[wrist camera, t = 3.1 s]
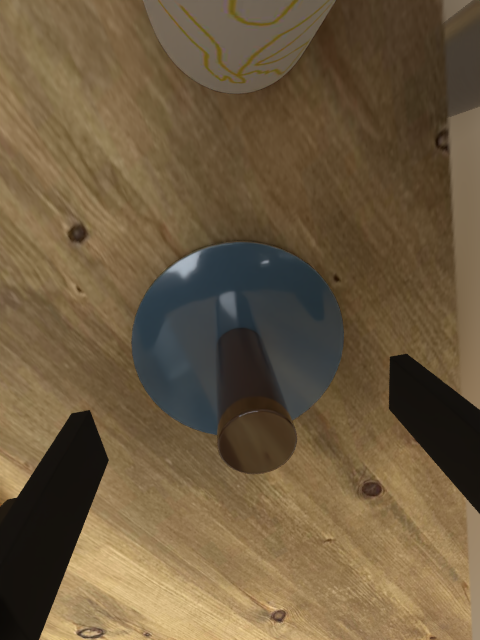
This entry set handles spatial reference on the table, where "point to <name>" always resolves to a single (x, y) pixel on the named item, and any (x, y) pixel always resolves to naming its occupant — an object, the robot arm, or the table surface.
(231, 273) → the canister lid
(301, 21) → the white cylinder
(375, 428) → the table surface
